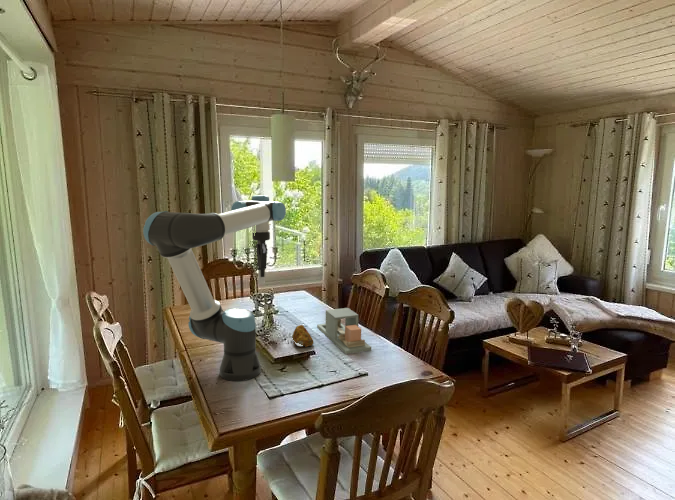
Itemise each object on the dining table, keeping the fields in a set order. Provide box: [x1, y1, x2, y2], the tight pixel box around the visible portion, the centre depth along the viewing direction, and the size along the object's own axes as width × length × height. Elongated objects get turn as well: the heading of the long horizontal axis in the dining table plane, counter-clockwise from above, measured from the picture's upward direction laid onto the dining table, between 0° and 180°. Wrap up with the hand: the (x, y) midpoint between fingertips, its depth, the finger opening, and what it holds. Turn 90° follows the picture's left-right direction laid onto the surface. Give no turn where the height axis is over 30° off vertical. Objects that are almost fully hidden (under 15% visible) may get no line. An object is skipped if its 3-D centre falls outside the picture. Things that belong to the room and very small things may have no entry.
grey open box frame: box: [338, 319, 365, 348], centre depth 194 cm, size 26×8×5 cm, turn 22°
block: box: [344, 325, 362, 342], centre depth 185 cm, size 6×5×6 cm
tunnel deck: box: [316, 307, 372, 355], centre depth 196 cm, size 36×12×12 cm, turn 22°
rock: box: [291, 324, 314, 348], centre depth 189 cm, size 11×8×10 cm
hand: (261, 283), depth 189 cm, fingers closed
